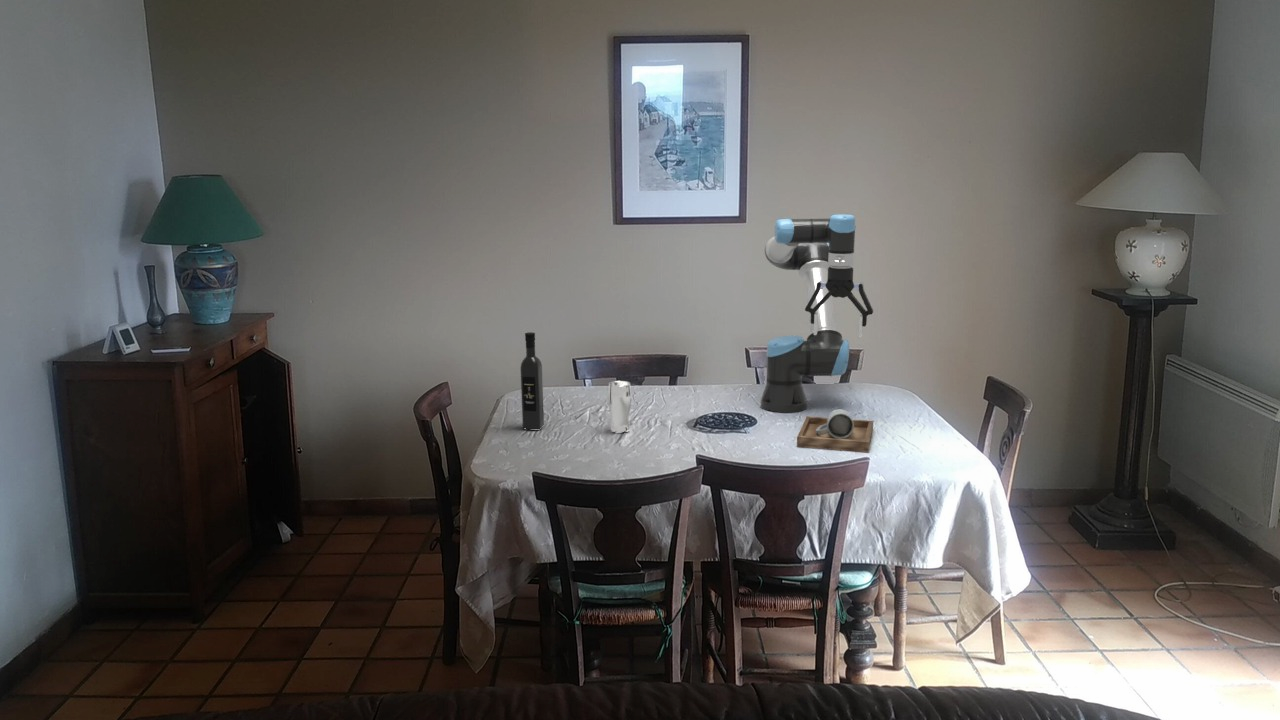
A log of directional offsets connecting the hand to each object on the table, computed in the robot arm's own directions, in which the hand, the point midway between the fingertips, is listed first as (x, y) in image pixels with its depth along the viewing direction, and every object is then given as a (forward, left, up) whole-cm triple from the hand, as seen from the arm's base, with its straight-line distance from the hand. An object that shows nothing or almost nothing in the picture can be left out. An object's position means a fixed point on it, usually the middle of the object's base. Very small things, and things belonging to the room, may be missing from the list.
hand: (837, 335), depth 287 cm
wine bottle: (-89, -30, -28) cm, 98 cm away
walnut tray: (+2, -17, -28) cm, 33 cm away
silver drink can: (-62, -26, -28) cm, 73 cm away
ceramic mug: (+2, -18, -27) cm, 32 cm away
